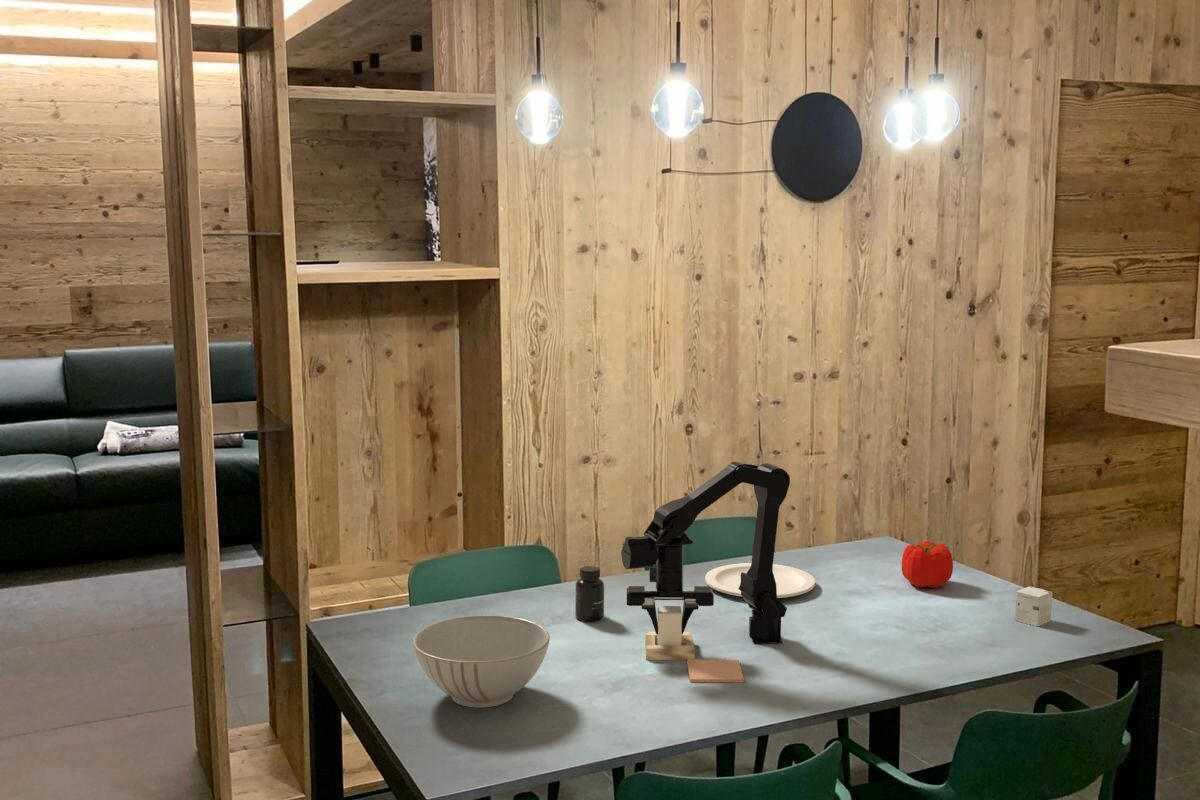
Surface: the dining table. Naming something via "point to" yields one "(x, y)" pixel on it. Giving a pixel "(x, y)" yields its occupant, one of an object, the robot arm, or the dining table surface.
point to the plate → (785, 577)
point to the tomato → (927, 564)
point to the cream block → (669, 625)
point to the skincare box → (1033, 606)
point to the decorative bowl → (481, 657)
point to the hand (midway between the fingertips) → (669, 633)
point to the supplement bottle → (589, 595)
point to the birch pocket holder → (669, 648)
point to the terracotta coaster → (714, 671)
